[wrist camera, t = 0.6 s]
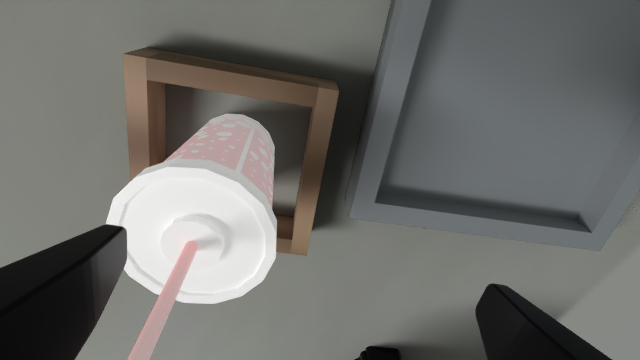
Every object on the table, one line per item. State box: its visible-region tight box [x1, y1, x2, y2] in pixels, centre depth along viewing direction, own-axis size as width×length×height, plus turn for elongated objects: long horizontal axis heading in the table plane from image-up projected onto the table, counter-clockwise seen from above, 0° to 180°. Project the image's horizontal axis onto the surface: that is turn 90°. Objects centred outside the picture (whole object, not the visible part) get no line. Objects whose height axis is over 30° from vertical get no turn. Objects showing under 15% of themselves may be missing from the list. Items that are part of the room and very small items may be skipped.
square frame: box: [123, 48, 339, 255], centre depth 20 cm, size 10×10×2 cm
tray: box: [345, 0, 640, 251], centre depth 19 cm, size 16×16×2 cm
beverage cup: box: [106, 114, 277, 360], centre depth 15 cm, size 6×6×14 cm
